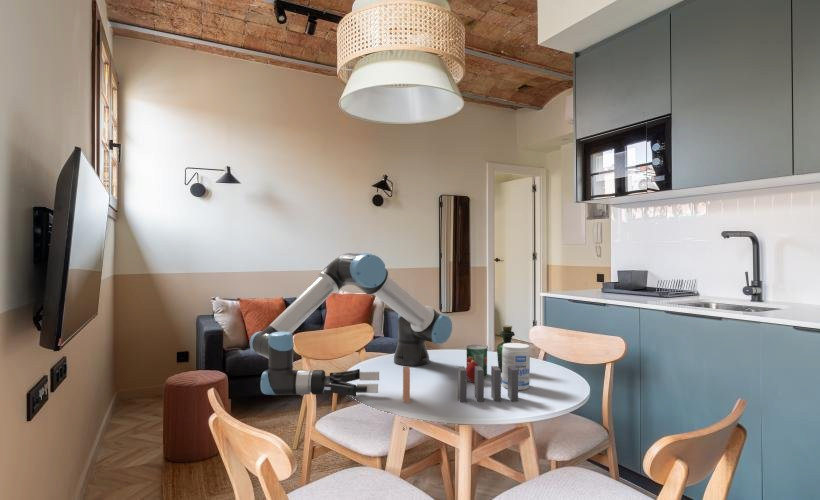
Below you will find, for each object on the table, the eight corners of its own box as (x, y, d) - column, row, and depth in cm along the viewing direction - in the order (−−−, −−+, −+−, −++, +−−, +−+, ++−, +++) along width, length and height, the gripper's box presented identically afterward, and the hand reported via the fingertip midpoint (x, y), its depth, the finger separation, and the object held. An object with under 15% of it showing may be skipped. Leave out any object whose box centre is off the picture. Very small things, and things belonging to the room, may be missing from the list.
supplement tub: (519, 392, 157) (520, 349, 157) (496, 386, 164) (496, 345, 164) (534, 386, 164) (535, 345, 164) (511, 381, 171) (512, 341, 171)
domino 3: (494, 401, 148) (494, 370, 148) (491, 396, 153) (491, 366, 153) (500, 401, 148) (501, 370, 148) (497, 396, 153) (497, 366, 153)
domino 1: (460, 402, 148) (460, 370, 148) (457, 396, 153) (458, 366, 153) (466, 401, 148) (466, 370, 148) (463, 396, 153) (464, 366, 153)
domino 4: (511, 401, 148) (511, 370, 148) (507, 396, 153) (507, 366, 153) (517, 401, 148) (518, 370, 148) (513, 396, 153) (513, 366, 153)
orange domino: (403, 402, 147) (403, 370, 147) (403, 397, 152) (403, 366, 152) (409, 402, 147) (409, 370, 147) (409, 397, 152) (409, 366, 152)
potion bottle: (499, 374, 180) (500, 328, 180) (494, 369, 188) (494, 324, 188) (520, 374, 181) (520, 327, 180) (513, 368, 189) (514, 324, 189)
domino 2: (477, 401, 148) (477, 370, 148) (474, 396, 153) (474, 366, 153) (483, 401, 148) (483, 370, 148) (480, 396, 153) (480, 366, 153)
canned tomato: (491, 376, 177) (491, 347, 177) (475, 379, 173) (475, 349, 173) (478, 371, 184) (478, 343, 184) (462, 374, 180) (462, 346, 180)
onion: (479, 380, 172) (480, 358, 172) (482, 384, 167) (482, 362, 167) (464, 379, 172) (464, 358, 172) (466, 384, 167) (466, 362, 167)
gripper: (317, 382, 160) (379, 382, 161) (304, 407, 136) (377, 406, 136) (317, 360, 160) (379, 360, 161) (304, 381, 136) (377, 381, 136)
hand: (378, 381), depth 149 cm, fingers open, 13 cm apart
